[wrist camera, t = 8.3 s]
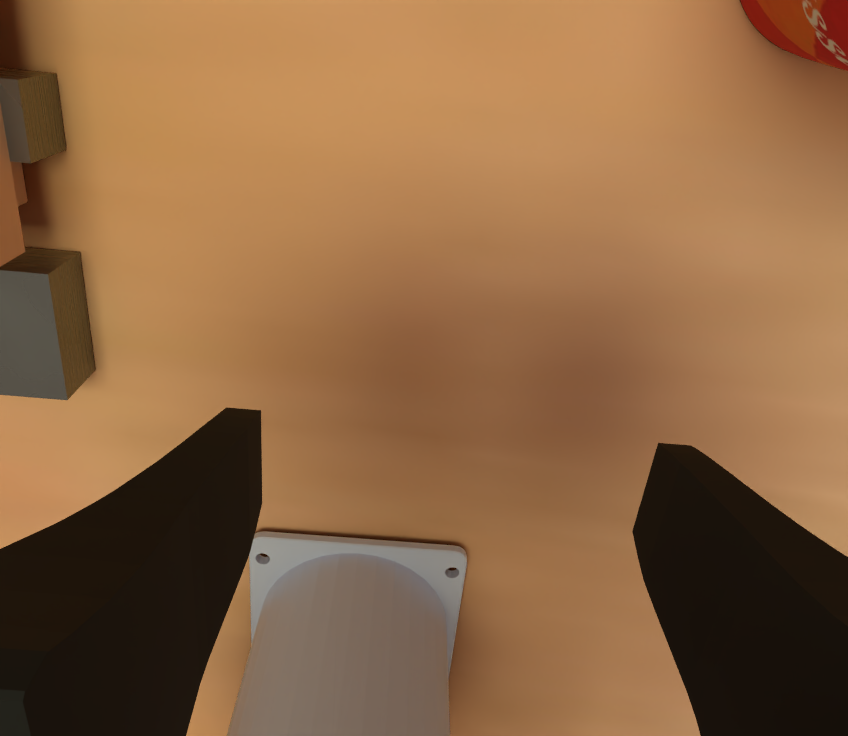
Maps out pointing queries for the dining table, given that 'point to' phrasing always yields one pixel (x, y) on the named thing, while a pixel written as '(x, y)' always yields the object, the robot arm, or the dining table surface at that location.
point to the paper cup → (804, 27)
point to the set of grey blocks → (40, 264)
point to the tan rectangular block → (10, 202)
